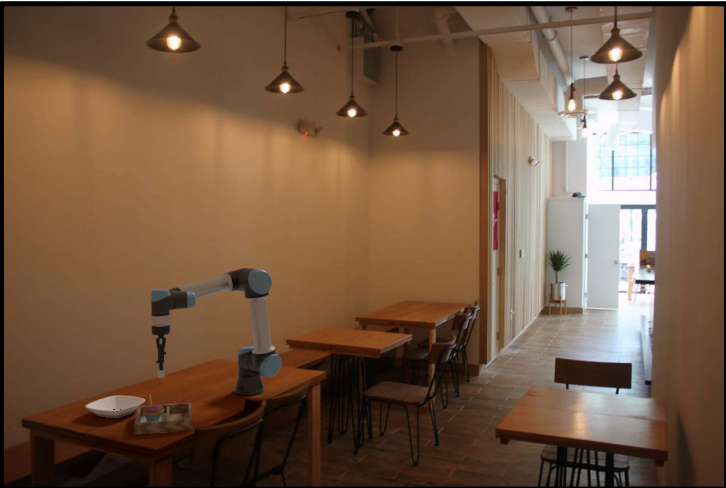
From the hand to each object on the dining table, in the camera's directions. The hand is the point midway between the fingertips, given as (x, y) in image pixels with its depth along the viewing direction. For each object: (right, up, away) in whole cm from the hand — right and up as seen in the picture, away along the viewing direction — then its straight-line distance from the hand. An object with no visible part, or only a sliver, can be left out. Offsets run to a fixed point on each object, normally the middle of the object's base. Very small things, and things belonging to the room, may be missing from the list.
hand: (161, 373), depth 252 cm
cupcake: (-2, -20, -3) cm, 20 cm away
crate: (+2, -21, -2) cm, 21 cm away
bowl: (-24, -21, +10) cm, 34 cm away
